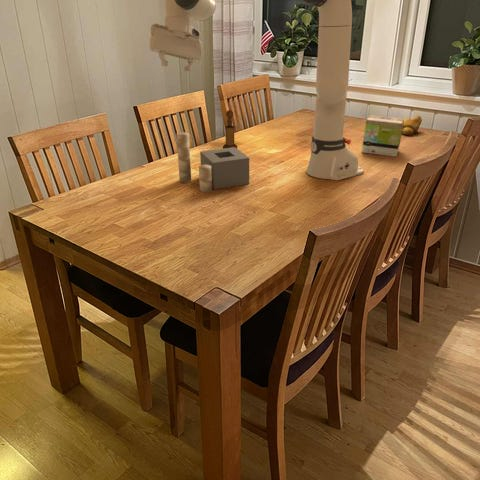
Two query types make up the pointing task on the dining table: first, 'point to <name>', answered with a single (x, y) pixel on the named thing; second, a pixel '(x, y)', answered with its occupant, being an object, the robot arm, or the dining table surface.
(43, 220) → the dining table surface
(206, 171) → the short pin
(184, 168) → the tall pin
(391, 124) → the tea box
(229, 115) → the brown pedestal statuette
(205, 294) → the dining table surface
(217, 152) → the hole block
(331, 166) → the robot arm
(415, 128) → the golden brown lumpy piece
